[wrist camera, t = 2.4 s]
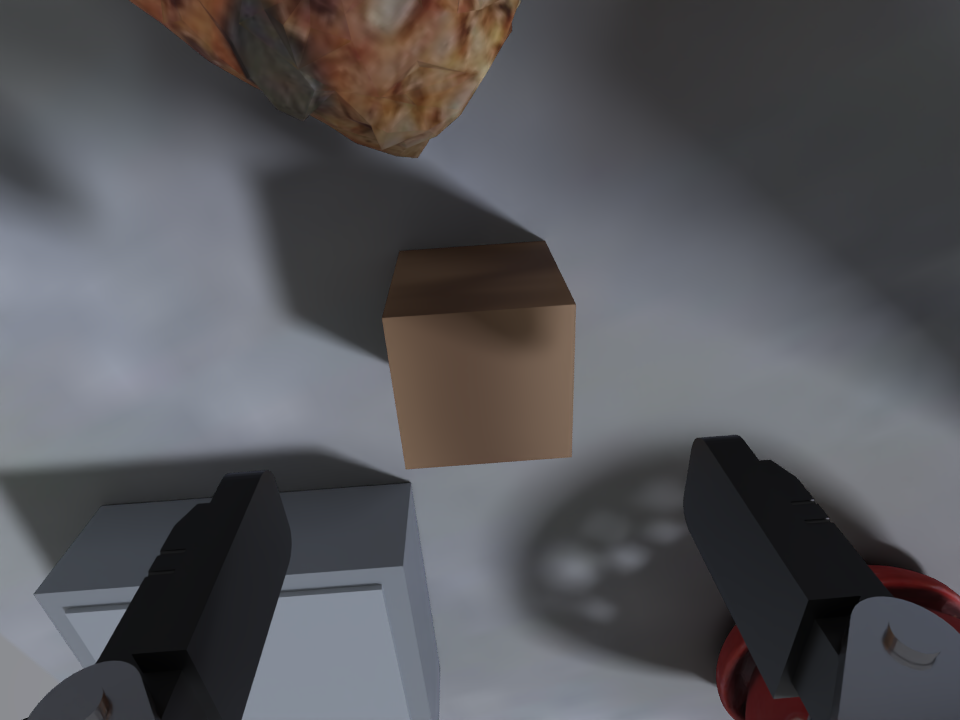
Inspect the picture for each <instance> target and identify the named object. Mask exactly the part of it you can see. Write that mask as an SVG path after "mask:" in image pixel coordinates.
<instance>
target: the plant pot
mask: <svg viewBox="0 0 960 720" xmlns="http://www.w3.org/2000/svg"><path fill="white" fill-rule="evenodd" d="M868 566H869V567H870V569H871V570H872V571H873V572H874V573H875V575H876V576H877V577H878V578H879V580H880V581H881V582H882V583H883V585H884V586H885V587H886V588H887V589H888V591H889V592H890V593H891V594H892V595H893V596H894V598H898V599H902V600H905V601H909V602H912V603H914V604H916V605H919V606H921V607H923V608H925V609H927V610H929V611H931V612H933V613H934V614H936V615H937V616H939V617H940V618H942V619H943V620H945V621H946V622H947V623H948V624H950V625H951V626H952V627H953V628H954V629H955V630H956V631H957V632H958V633H959V634H960V596H959V595H958V594H957V593H955V592H954V591H953V590H951V589H950V588H949V587H947V586H946V585H944V584H943V583H941V582H939V581H938V580H936V579H934V578H931V577H929V576H926V575H924V574H921V573H918V572H914V571H911V570H907V569H903V568H897V567H891V566H881V565H868ZM716 682H717V688H718V693H719V696H720V699H721V702H722V704H723V706H724V707H725V709H726V710H727V712H728V713H729V714H730V716H731V717H732V718H733V719H734V720H807V718H808V715H809V713H808V712H807V710H806V708H805V706H804V704H803V702H802V701H801V699H800V697H791V698H780V699H773V697H772V695H771V693H770V691H769V689H768V687H767V685H766V683H765V681H764V679H763V677H762V675H761V673H760V671H759V669H758V667H757V665H756V663H755V661H754V659H753V657H752V655H751V653H750V651H749V649H748V647H747V645H746V643H745V641H744V639H743V637H742V635H741V633H740V631H739V629H738V627H737V625H735V626H734V627H733V629H732V630H731V631H730V633H729V634H728V636H727V638H726V640H725V642H724V644H723V646H722V649H721V651H720V655H719V658H718V663H717V668H716Z"/></svg>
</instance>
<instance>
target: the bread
mask: <svg viewBox="0 0 960 720" xmlns="http://www.w3.org/2000/svg"><path fill="white" fill-rule="evenodd" d="M129 1H130V2H132V3H133V4H135V5H136V6H137V7H139V8H140V9H142V10H143V11H145V12H146V13H147V14H149V15H150V16H152V17H153V18H155V19H156V20H157V21H159V22H160V23H162V24H163V25H164V26H165V27H167V28H168V29H169V30H170V31H172V32H173V33H174V34H175V35H177V36H178V37H179V38H180V39H182V40H183V41H184V42H185V43H187V44H188V45H189V46H190V47H192V48H193V49H194V50H195V51H197V52H198V53H199V54H200V55H202V56H203V57H204V58H205V59H207V60H208V61H209V62H211V63H213V64H215V65H216V66H218V67H220V68H222V69H223V70H225V71H227V72H229V73H230V74H232V75H234V76H236V77H237V78H239V79H241V80H243V81H244V82H246V83H248V84H250V85H251V86H253V87H255V88H257V89H259V90H261V91H262V92H263V93H264V94H265V96H266V97H267V98H268V99H269V100H270V102H271V103H272V104H273V105H274V106H275V108H276V109H277V110H279V111H281V112H284V113H286V114H288V115H290V116H292V117H295V118H297V119H299V120H301V121H304V120H305V119H306V118H307V117H308V116H309V115H311V116H312V117H314V118H316V119H318V120H320V121H321V122H323V123H325V124H327V125H329V126H330V127H332V128H333V129H335V130H336V131H338V132H339V133H341V134H343V135H344V136H346V137H347V138H349V139H350V140H352V141H353V142H355V143H357V144H360V145H363V146H366V147H369V148H373V149H376V150H379V151H382V152H385V153H388V154H392V155H395V156H400V157H411V158H418V157H419V155H420V154H421V152H422V151H423V149H424V148H425V146H426V145H427V143H428V141H429V139H431V138H433V137H436V136H437V135H438V134H440V133H441V132H442V131H443V130H444V129H445V128H446V127H447V126H448V125H450V124H451V123H452V122H453V121H454V120H455V119H456V118H457V117H459V116H460V115H461V113H462V112H463V110H464V108H465V107H466V105H467V104H468V102H469V100H470V99H471V97H472V96H473V94H474V92H475V91H476V89H477V87H478V86H479V84H480V83H481V81H482V79H483V78H484V76H485V75H486V73H487V71H488V70H489V68H490V66H491V64H492V63H493V61H494V59H495V57H496V56H497V54H498V52H499V50H500V49H501V47H502V45H503V43H504V42H505V40H506V39H507V37H508V36H509V34H510V33H511V31H512V20H513V17H514V14H515V12H516V9H517V8H518V7H519V5H520V3H521V1H522V0H129Z"/></svg>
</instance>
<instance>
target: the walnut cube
mask: <svg viewBox="0 0 960 720" xmlns="http://www.w3.org/2000/svg"><path fill="white" fill-rule="evenodd" d="M575 318H576V304H575V302H574V299H573V297H572V295H571V293H570V291H569V289H568V287H567V285H566V283H565V281H564V279H563V277H562V275H561V273H560V271H559V269H558V267H557V265H556V262H555V260H554V258H553V256H552V254H551V252H550V250H549V248H548V246H547V244H546V242H545V241H534V242H520V243H506V244H491V245H477V246H463V247H448V248H434V249H420V250H405V251H399V255H398V259H397V262H396V266H395V270H394V274H393V278H392V282H391V285H390V289H389V293H388V297H387V301H386V304H385V308H384V312H383V316H382V322H383V328H384V335H385V341H386V347H387V354H388V360H389V366H390V372H391V379H392V385H393V391H394V398H395V404H396V410H397V417H398V423H399V429H400V436H401V442H402V448H403V455H404V461H405V467H406V469H417V468H431V467H444V466H458V465H471V464H485V463H498V462H512V461H525V460H539V459H553V458H566V457H572V425H573V389H574V353H575Z"/></svg>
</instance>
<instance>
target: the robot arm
mask: <svg viewBox="0 0 960 720" xmlns="http://www.w3.org/2000/svg"><path fill="white" fill-rule="evenodd" d="M683 507H684V515H685V520H686V523H687V526H688V529H689V531H690V534H691V536H692V538H693V540H694V542H695V544H696V546H697V548H698V550H699V552H700V554H701V556H702V558H703V560H704V562H705V564H706V566H707V568H708V570H709V572H710V574H711V576H712V578H713V580H714V582H715V584H716V586H717V588H718V590H719V592H720V594H721V596H722V598H723V600H724V602H725V604H726V606H727V608H728V610H729V612H730V614H731V616H732V618H733V619H734V621H735V623H736V625H737V627H738V629H739V631H740V633H741V635H742V637H743V639H744V641H745V643H746V645H747V647H748V649H749V651H750V653H751V655H752V657H753V659H754V661H755V663H756V665H757V667H758V669H759V671H760V673H761V675H762V677H763V679H764V681H765V683H766V685H767V687H768V689H769V691H770V693H771V695H772V697H773V699H780V698H791V697H800V699H801V701H802V702H803V704H804V706H805V708H806V710H807V712H808V713H809V715H808V718H807V720H960V634H959V633H958V632H957V631H956V630H955V629H954V628H953V627H952V626H951V625H950V624H948V623H947V622H946V621H945V620H943V619H942V618H940V617H939V616H937V615H936V614H934V613H933V612H931V611H929V610H927V609H925V608H923V607H921V606H919V605H916V604H914V603H912V602H909V601H905V600H902V599H898V598H894V596H893V595H892V594H891V593H890V592H889V591H888V589H887V588H886V587H885V586H884V585H883V583H882V582H881V581H880V580H879V578H878V577H877V576H876V575H875V573H874V572H873V571H872V570H871V569H870V567H869V566H868V565H867V564H866V562H865V561H864V560H863V559H862V557H861V556H860V555H859V554H858V552H857V551H856V550H855V549H854V548H853V546H852V545H851V544H850V543H849V541H848V540H847V539H846V538H845V536H844V535H843V534H842V533H841V532H840V530H839V529H838V528H837V527H836V525H835V524H834V523H830V520H829V517H828V516H827V514H826V513H825V512H824V511H823V509H822V508H821V507H820V506H819V504H815V501H814V498H813V497H812V496H811V495H810V493H809V492H808V491H807V490H806V488H805V487H804V486H803V485H802V484H801V482H800V481H799V480H798V479H797V477H795V476H794V475H792V474H791V473H789V472H788V471H786V470H785V469H783V468H782V467H780V466H779V465H777V464H776V463H774V462H773V461H772V460H761V461H759V460H758V458H757V457H756V456H755V454H754V453H753V452H752V450H751V449H750V448H749V446H748V445H747V444H746V442H745V441H744V440H743V439H742V438H741V437H740V436H738V435H728V436H715V437H702V438H696V439H695V440H694V442H693V445H692V449H691V455H690V461H689V467H688V473H687V480H686V486H685V492H684V499H683ZM291 549H292V538H291V530H290V526H289V523H288V520H287V516H286V513H285V510H284V507H283V503H282V500H281V497H280V494H279V491H278V487H277V484H276V481H275V478H274V476H273V474H272V473H271V471H269V470H264V471H251V472H238V473H228V474H226V475H225V476H224V477H223V479H222V480H221V482H220V484H219V486H218V488H217V490H216V492H215V494H214V496H213V498H212V500H211V502H210V503H199V504H197V505H196V506H194V507H193V508H192V509H191V510H190V511H189V512H188V513H187V514H186V515H185V516H184V517H183V518H182V519H181V520H180V521H179V522H178V523H176V524H175V525H174V527H173V528H172V530H171V532H170V534H169V536H168V537H167V539H166V541H165V543H164V544H163V546H162V548H161V550H160V555H158V556H157V557H156V558H155V560H154V562H153V564H152V565H151V567H150V569H149V571H148V577H145V578H144V580H143V581H142V583H141V585H140V587H139V588H138V590H137V592H136V594H135V595H134V597H133V599H132V601H131V602H130V604H129V606H128V608H127V609H126V611H125V613H124V615H123V617H122V618H121V620H120V622H119V624H118V625H117V627H116V629H115V631H114V632H113V634H112V636H111V638H110V639H109V641H108V643H107V645H106V646H105V648H104V650H103V652H102V653H101V655H100V657H99V659H98V660H97V662H96V663H95V664H94V665H91V666H89V667H86V668H84V669H82V670H80V671H78V672H76V673H74V674H73V675H71V676H69V677H68V678H66V679H65V680H63V681H62V682H61V683H59V684H58V685H57V686H56V687H54V688H53V689H52V690H51V691H50V692H49V693H48V694H47V695H46V696H45V697H44V698H43V699H42V700H41V701H40V702H39V703H38V705H37V706H36V707H35V708H34V710H33V711H32V712H31V714H30V715H29V717H28V718H25V719H23V720H242V717H243V714H244V710H245V707H246V704H247V700H248V697H249V694H250V691H251V687H252V684H253V681H254V677H255V674H256V671H257V668H258V664H259V661H260V658H261V654H262V651H263V648H264V644H265V641H266V638H267V635H268V631H269V628H270V625H271V621H272V618H273V615H274V612H275V608H276V605H277V602H278V598H279V595H280V592H281V589H282V585H283V582H284V579H285V575H286V572H287V569H288V566H289V562H290V557H291Z"/></svg>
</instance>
